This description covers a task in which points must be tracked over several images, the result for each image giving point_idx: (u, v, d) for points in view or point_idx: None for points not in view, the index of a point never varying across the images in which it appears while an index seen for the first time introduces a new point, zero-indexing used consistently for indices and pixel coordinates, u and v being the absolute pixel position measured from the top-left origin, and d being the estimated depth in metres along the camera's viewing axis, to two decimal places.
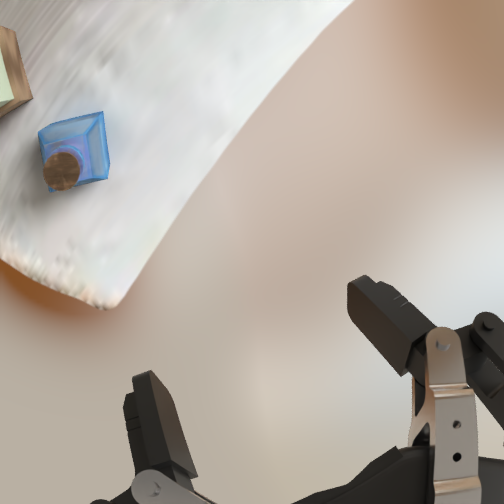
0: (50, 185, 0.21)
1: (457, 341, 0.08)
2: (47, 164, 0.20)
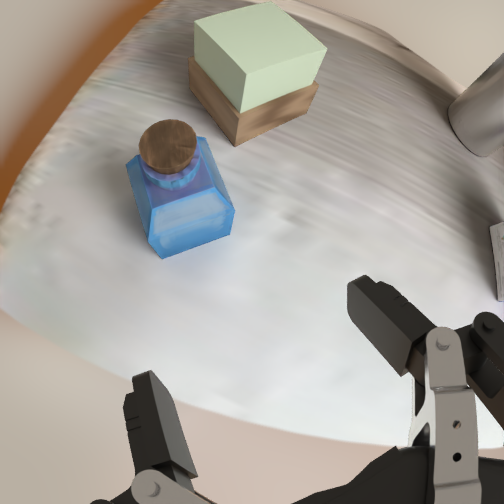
0: (147, 131, 0.16)
1: (457, 341, 0.08)
2: (177, 123, 0.16)
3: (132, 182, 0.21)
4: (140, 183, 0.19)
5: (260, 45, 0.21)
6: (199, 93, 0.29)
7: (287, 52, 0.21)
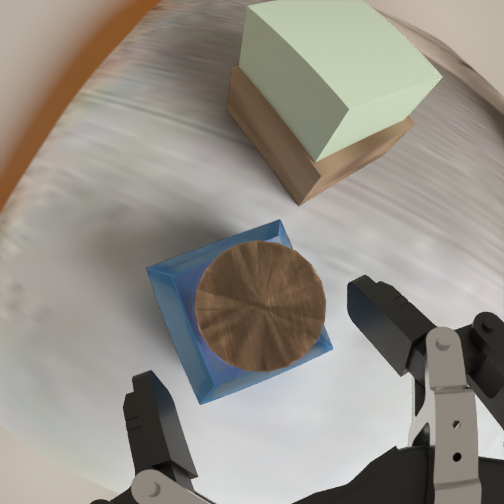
0: (209, 273, 0.07)
1: (457, 341, 0.08)
2: (278, 252, 0.08)
3: (161, 305, 0.12)
4: (184, 327, 0.11)
5: (358, 58, 0.13)
6: (245, 121, 0.20)
7: (398, 77, 0.13)
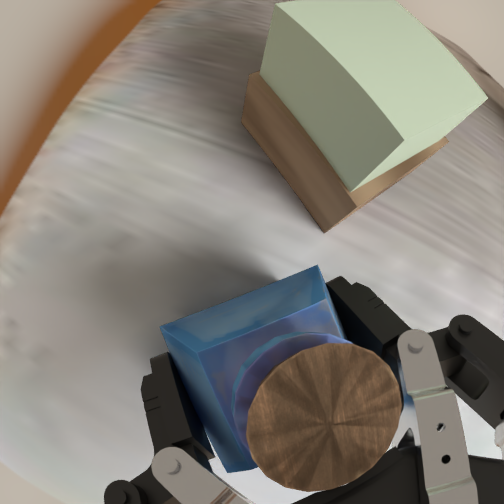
0: (265, 391, 0.05)
1: (430, 344, 0.08)
2: (352, 356, 0.05)
3: (181, 372, 0.10)
4: (212, 407, 0.09)
5: (407, 74, 0.10)
6: (263, 136, 0.18)
7: (448, 98, 0.10)
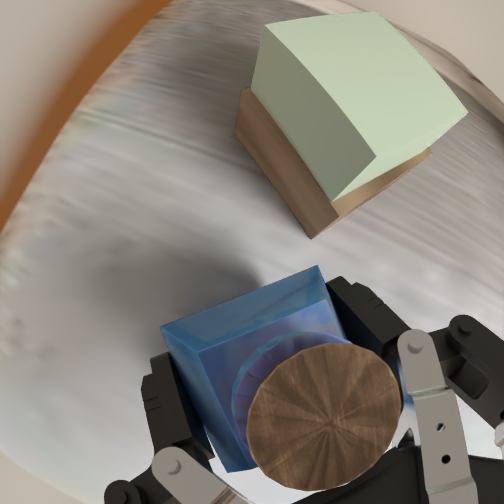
0: (264, 391, 0.05)
1: (430, 344, 0.08)
2: (352, 356, 0.05)
3: (181, 372, 0.10)
4: (212, 407, 0.09)
5: (386, 92, 0.12)
6: (255, 147, 0.20)
7: (425, 115, 0.12)
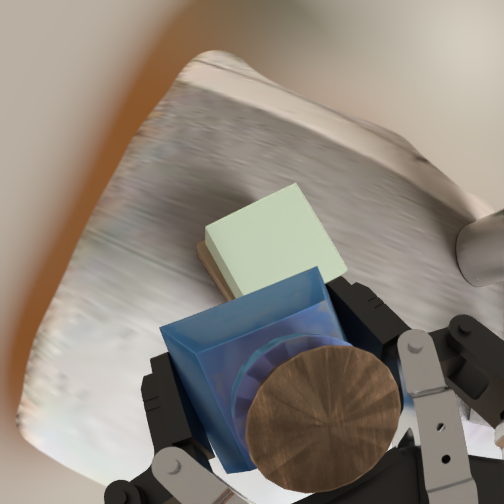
0: (264, 393, 0.05)
1: (430, 344, 0.08)
2: (352, 358, 0.05)
3: (180, 373, 0.10)
4: (212, 408, 0.09)
5: (277, 275, 0.23)
6: (209, 271, 0.31)
7: None
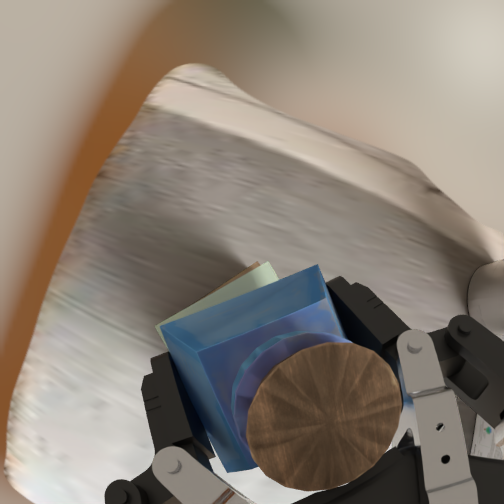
0: (265, 390, 0.05)
1: (429, 344, 0.08)
2: (352, 355, 0.05)
3: (180, 372, 0.10)
4: (212, 406, 0.09)
5: None
6: None
7: None
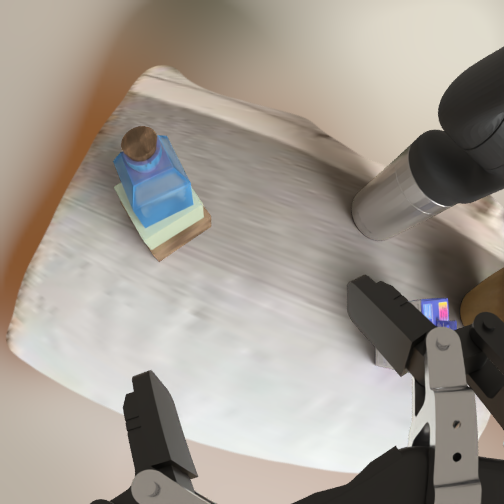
0: (125, 135, 0.24)
1: (457, 341, 0.08)
2: (144, 128, 0.25)
3: (118, 172, 0.29)
4: (124, 171, 0.28)
5: None
6: None
7: (172, 215, 0.36)
